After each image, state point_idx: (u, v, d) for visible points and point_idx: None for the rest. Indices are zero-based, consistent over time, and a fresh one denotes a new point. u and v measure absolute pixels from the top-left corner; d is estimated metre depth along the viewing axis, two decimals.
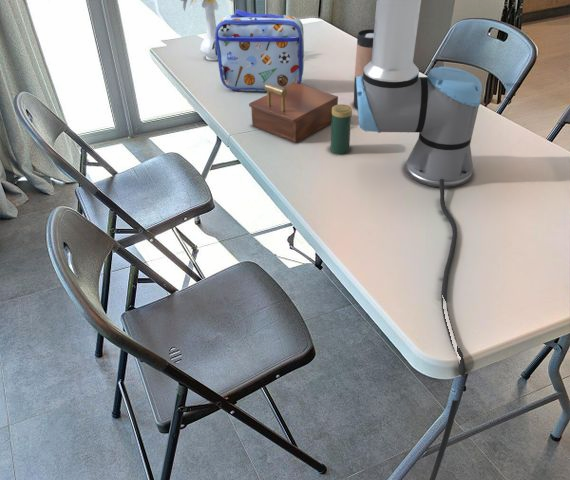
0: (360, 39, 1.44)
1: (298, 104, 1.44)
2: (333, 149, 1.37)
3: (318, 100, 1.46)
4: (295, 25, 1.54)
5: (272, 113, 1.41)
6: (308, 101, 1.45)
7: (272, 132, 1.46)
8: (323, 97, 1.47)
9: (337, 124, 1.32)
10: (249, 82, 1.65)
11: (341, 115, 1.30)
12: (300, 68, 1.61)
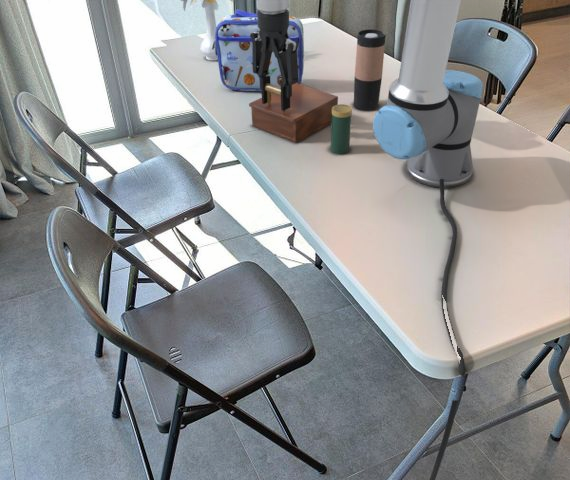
0: (360, 39, 1.44)
1: (298, 104, 1.44)
2: (333, 149, 1.37)
3: (318, 100, 1.46)
4: (295, 25, 1.54)
5: (272, 113, 1.41)
6: (308, 101, 1.45)
7: (272, 132, 1.46)
8: (323, 97, 1.47)
9: (337, 124, 1.32)
10: (249, 82, 1.65)
11: (341, 115, 1.30)
12: (300, 68, 1.61)
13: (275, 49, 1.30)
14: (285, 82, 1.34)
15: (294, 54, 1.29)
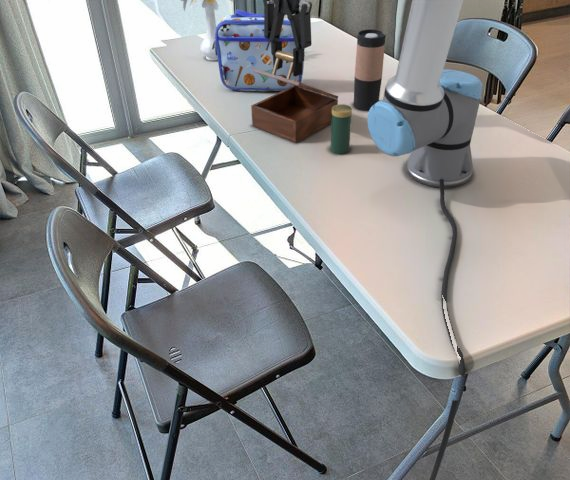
0: (360, 39, 1.44)
1: None
2: (333, 149, 1.37)
3: None
4: None
5: (277, 77, 1.36)
6: None
7: (272, 132, 1.46)
8: None
9: (337, 124, 1.32)
10: (249, 82, 1.65)
11: (341, 115, 1.30)
12: None
13: (288, 11, 1.28)
14: (298, 46, 1.32)
15: (307, 16, 1.27)
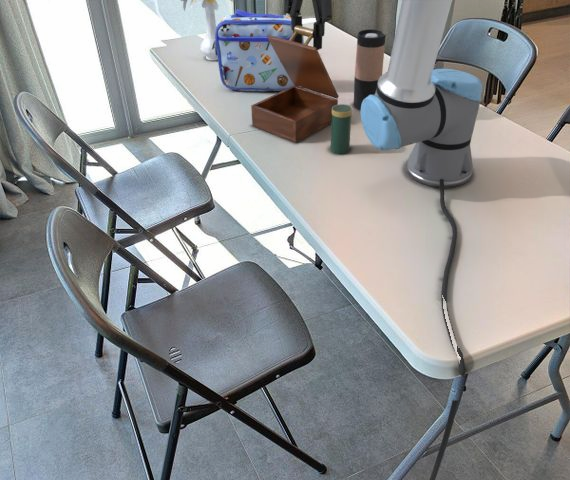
0: (360, 39, 1.44)
1: None
2: (333, 149, 1.37)
3: None
4: None
5: (292, 42, 1.35)
6: None
7: (272, 132, 1.46)
8: None
9: (337, 124, 1.32)
10: (249, 82, 1.65)
11: (341, 115, 1.30)
12: None
13: None
14: (318, 19, 1.33)
15: None
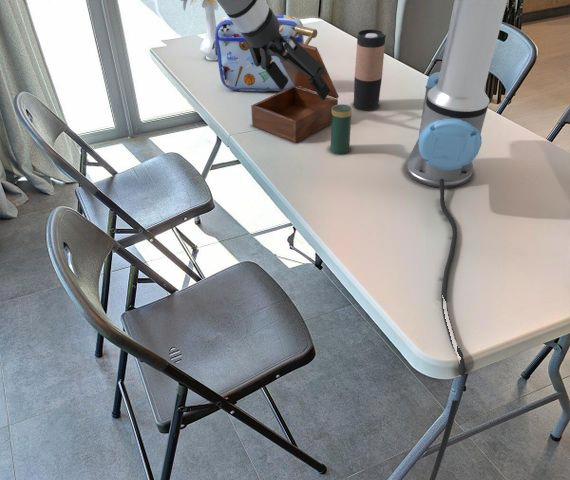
0: (360, 39, 1.44)
1: None
2: (333, 149, 1.37)
3: None
4: (295, 25, 1.54)
5: None
6: None
7: (272, 132, 1.46)
8: None
9: (337, 124, 1.32)
10: (249, 82, 1.65)
11: (341, 115, 1.30)
12: None
13: (278, 55, 1.12)
14: (310, 76, 1.14)
15: (298, 49, 1.09)
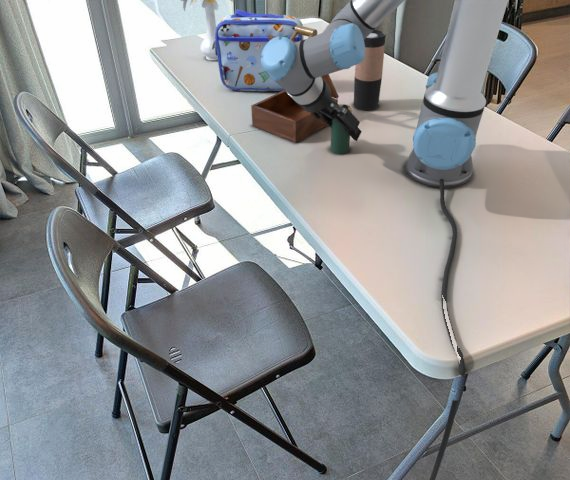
0: None
1: None
2: (333, 149, 1.37)
3: None
4: (295, 25, 1.54)
5: (293, 42, 1.35)
6: None
7: (272, 132, 1.46)
8: None
9: (337, 124, 1.32)
10: (249, 82, 1.65)
11: None
12: None
13: (327, 115, 1.25)
14: (348, 129, 1.30)
15: (347, 113, 1.24)
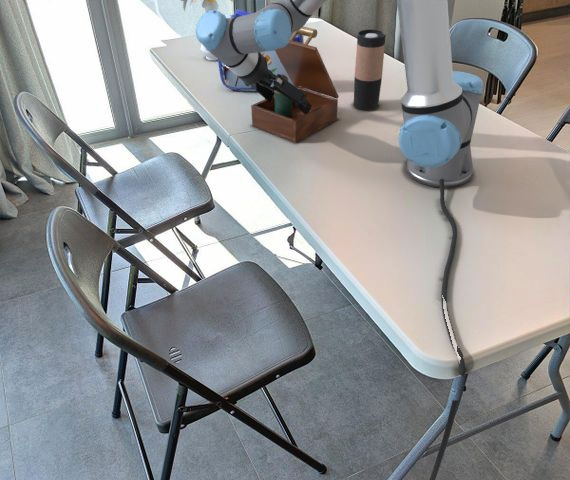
0: (360, 39, 1.44)
1: None
2: None
3: None
4: None
5: (293, 42, 1.35)
6: None
7: (272, 132, 1.46)
8: None
9: (279, 100, 1.41)
10: None
11: None
12: None
13: (267, 87, 1.33)
14: (295, 102, 1.35)
15: (285, 84, 1.30)
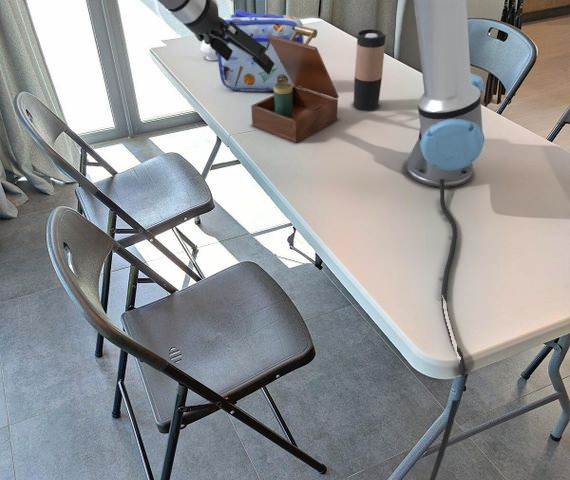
0: (360, 39, 1.44)
1: None
2: None
3: None
4: (295, 25, 1.54)
5: (293, 42, 1.35)
6: None
7: (272, 132, 1.46)
8: None
9: (279, 100, 1.41)
10: (249, 82, 1.65)
11: (282, 92, 1.39)
12: None
13: (220, 38, 1.15)
14: (254, 56, 1.18)
15: (239, 33, 1.12)
